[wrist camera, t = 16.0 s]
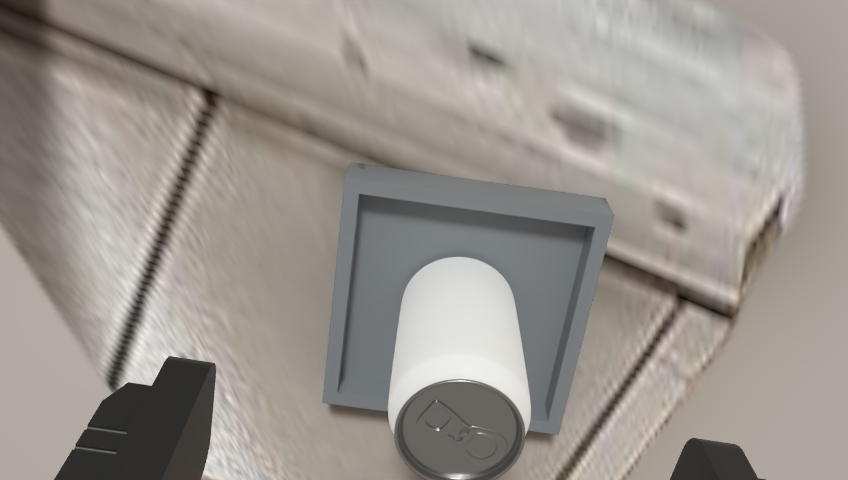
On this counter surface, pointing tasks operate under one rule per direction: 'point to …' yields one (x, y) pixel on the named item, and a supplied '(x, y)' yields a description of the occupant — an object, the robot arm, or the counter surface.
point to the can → (459, 374)
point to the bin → (473, 238)
